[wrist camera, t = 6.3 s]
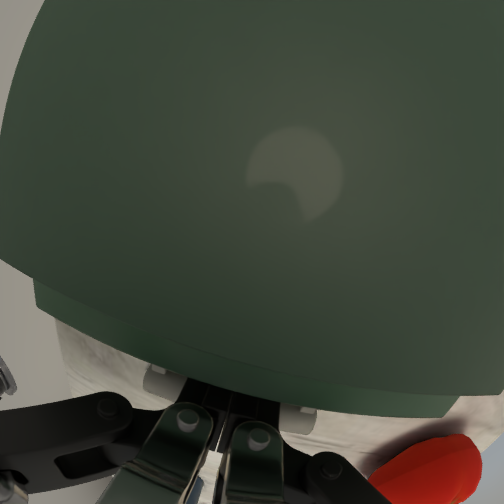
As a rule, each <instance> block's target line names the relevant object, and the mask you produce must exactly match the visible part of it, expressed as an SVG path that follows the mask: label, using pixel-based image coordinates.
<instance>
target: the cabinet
mask: <svg viewBox="0 0 504 504" xmlns="http://www.w3.org/2000/svg"><path fill="white" fill-rule="evenodd" d="M0 259H1V260H3V261H4V262H6V263H8V264H9V265H11V266H12V267H14V268H16V269H17V270H19V271H21V272H22V273H24V274H26V275H28V276H29V277H31V278H33V279H35V280H36V281H38V282H40V283H42V284H44V285H45V286H47V287H49V288H51V289H53V290H55V291H57V292H59V293H61V294H63V295H65V296H67V297H69V298H71V299H73V300H75V301H77V302H79V303H81V304H83V305H85V306H87V307H89V308H91V309H94V310H96V311H98V312H100V313H102V314H105V315H107V316H109V317H112V318H114V319H116V320H118V321H121V322H123V323H126V324H128V325H131V326H133V327H135V328H138V329H140V330H143V331H146V332H148V333H151V334H153V335H156V336H159V337H161V338H164V339H167V340H170V341H173V342H175V343H178V344H181V345H184V346H187V347H190V348H193V349H196V350H199V351H202V352H205V353H209V354H212V355H215V356H218V357H222V358H225V359H229V360H232V361H236V362H239V363H243V364H246V365H250V366H254V367H258V368H262V369H266V370H270V371H274V372H278V373H283V374H287V375H292V376H296V377H301V378H306V379H311V380H316V381H321V382H327V383H332V384H338V385H344V386H351V387H357V388H365V389H372V390H380V391H389V392H399V393H411V394H426V395H449V396H485V395H499V394H501V392H502V391H503V390H504V0H45V1H44V3H43V5H42V7H41V9H40V11H39V13H38V15H37V17H36V19H35V21H34V24H33V26H32V28H31V31H30V32H29V35H28V37H27V40H26V42H25V45H24V48H23V50H22V53H21V56H20V58H19V62H18V64H17V67H16V71H15V74H14V77H13V80H12V84H11V88H10V91H9V95H8V99H7V103H6V108H5V113H4V117H3V122H2V128H1V134H0Z"/></svg>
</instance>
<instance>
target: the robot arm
mask: <svg viewBox="0 0 504 504" xmlns="http://www.w3.org/2000/svg"><path fill="white" fill-rule="evenodd" d="M7 390H8V385H7V383H6V380H5V378H4V377H3V375H2V373H1V371H0V396H1V395H2V394H3V393H4V392H6V391H7ZM0 400H1V397H0ZM280 404H281V402H276V401H271V400H267V399H262V398H258V397H254V396H250V395H246V394H242V393H238V392H235V391H231V390H228V389H224V388H221V387H217V386H214V385H211V384H207V383H204V382H201V381H198V380H195V379H192V378H189V377H187V380H186V382H185V384H184V386H183V388H182V390H181V392H180V394H179V396H178V398H177V400H176V402H175V403H174V404H172V405H170V406H169V407H167V408H166V409H163V410H156V411H152V410H143V409H136V408H132V405H131V404H130V402H129V401H128V400H127V399H126V398H125V397H123V396H122V395H120V394H117V393H114V392H108V391H104V392H98V393H94V394H90V395H85V396H81V397H77V398H72V399H68V400H63V401H58V402H53V403H47V404H42V405H36V406H30V407H25V408H17V409H11V410H3V411H0V504H28V494H33V493H40V492H46V491H51V490H56V489H61V488H65V487H70V486H75V485H79V484H83V483H87V482H90V481H94V480H97V479H101V478H104V477H107V476H111V475H114V474H115V475H114V477H113V478H112V480H111V481H110V483H109V484H108V486H107V487H106V489H105V490H104V492H103V493H102V495H101V496H100V498H99V500H98V501H97V502H96V504H186V502H187V499H188V497H189V495H190V492H191V490H192V488H193V486H194V483H195V481H196V479H197V476H198V474H199V472H200V469H201V467H202V466H203V465H204V463H205V461H206V457H207V454H208V451H209V450H211V451H215V449H216V446H217V443H218V440H219V437H220V434H221V431H222V434H221V438H220V441H219V445H218V448H217V452H219V453H223V456H222V460H221V463H220V466H219V469H218V471H217V476H216V482H215V488H214V495H213V501H212V504H392V503H391V502H390V501H389V500H388V499H387V498H386V497H384V496H383V495H382V494H381V493H380V492H379V491H378V490H377V489H376V488H375V487H374V486H373V485H372V484H371V483H370V482H369V481H368V480H366V479H365V478H364V477H363V476H362V475H361V474H360V473H359V472H358V471H357V470H356V469H355V468H354V467H353V466H352V465H351V464H350V463H349V462H348V461H347V460H346V459H345V458H344V457H343V456H341V455H339V454H337V453H334V452H320V453H317V454H315V455H313V456H310V455H308V454H305V453H303V452H300V451H298V450H296V449H294V448H292V447H291V446H289V445H288V444H287V443H286V442H285V441H284V440H283V438H282V437H281V435H280V432H279V418H280ZM224 422H225V423H224ZM223 425H224V427H223ZM222 428H223V430H222Z"/></svg>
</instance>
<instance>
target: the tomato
mask: <svg viewBox="0 0 504 504" xmlns="http://www.w3.org/2000/svg"><path fill="white" fill-rule="evenodd" d="M481 472H482V460H481V455H480V452H479V450H478V449H477V447H476V446H475V444H474V443H473V441H472V440H471V439H470V438H469V437H467V436H465V435H464V434H452V435H448V436H445V437H443V438H437V437H434V438H432V439H429V440H426V441H423V442H420V443H416V444H414V445H412V446H411V447H409V448H408V449H406V450H405V451H403V452H401V453H400V454H398V455H397V456H396V457H394V458H393V459H392V460H390V461H389V462H387V463H386V464H384V465H383V466H381V467H379V468H378V469H377V470H376V471H375V472H374V473H373V474H371V476H370V477H369V479H368V481H369V482H370V483H371V484H372V485H373V486H374V487H375V488H376V489H377V490H378V491H379V492H380V493H381V494H382V495H383V496H384V497H386V498H387V499H388V500H389V501H390V502H391V503H392V504H459V503H460V502H463V501H465V500H466V499H467V498H468V497H469V496H470V495H472V494H473V493H474V492H475V490H476V488H477V486H478V483H479V481H480V478H481Z"/></svg>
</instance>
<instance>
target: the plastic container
mask: <svg viewBox="0 0 504 504" xmlns="http://www.w3.org/2000/svg"><path fill="white" fill-rule="evenodd" d="M202 487H203V481H202V480H201V479H200V478H199V477H198V476H197V479H196V481H195V483H194V486H193V488H192V490H191V492H190V495H189V497H188V499H187V502H186V504H197V503H198V500H199V497H200V493H201V490H202Z"/></svg>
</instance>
